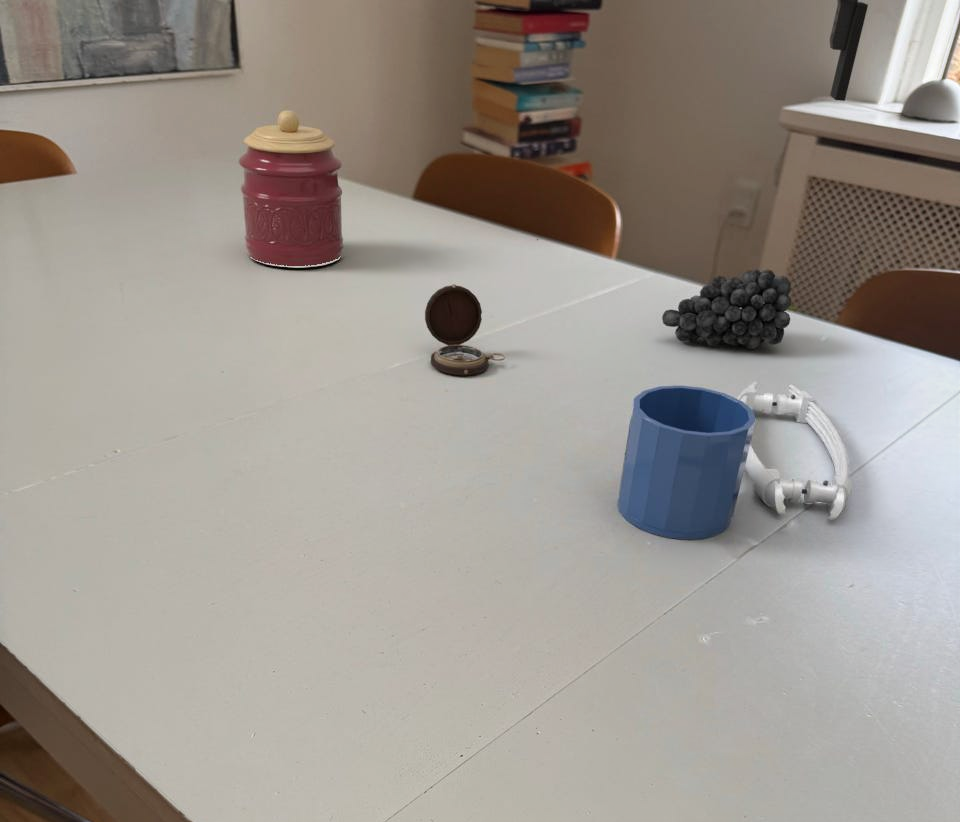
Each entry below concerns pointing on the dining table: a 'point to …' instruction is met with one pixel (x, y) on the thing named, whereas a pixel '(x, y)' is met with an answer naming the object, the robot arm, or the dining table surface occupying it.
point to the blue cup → (684, 461)
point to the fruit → (735, 311)
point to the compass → (456, 331)
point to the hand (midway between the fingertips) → (923, 105)
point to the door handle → (778, 490)
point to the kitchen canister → (291, 195)
